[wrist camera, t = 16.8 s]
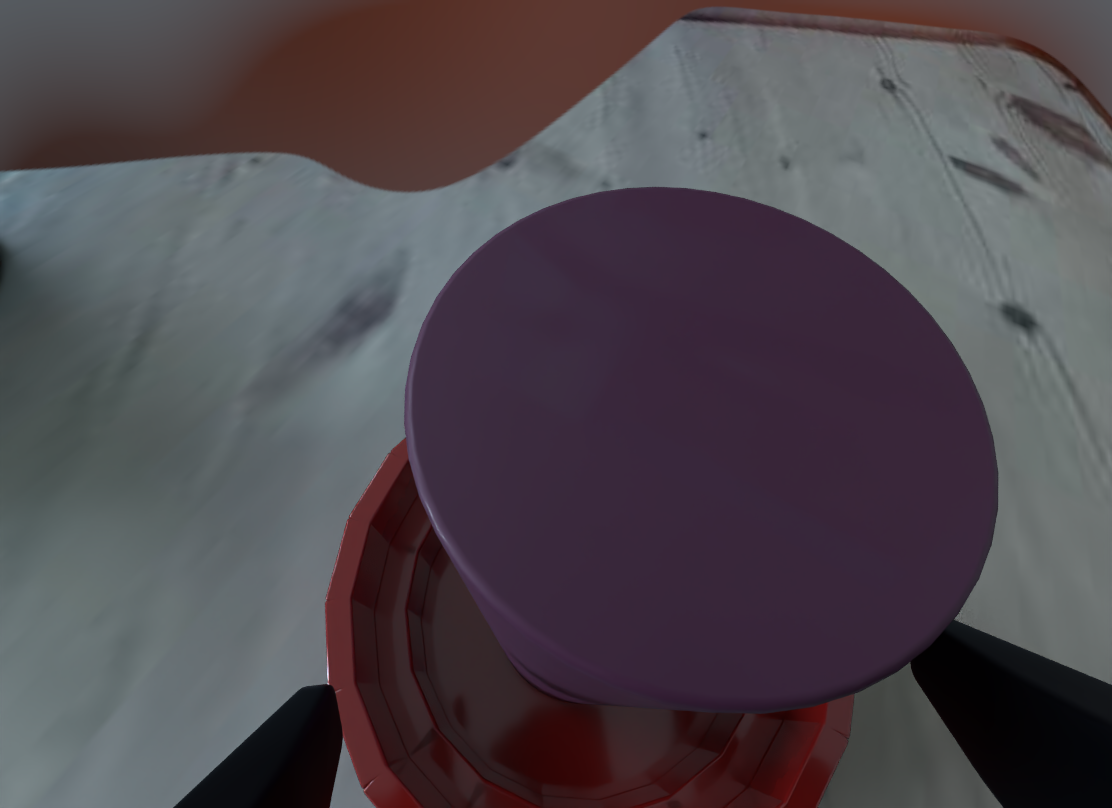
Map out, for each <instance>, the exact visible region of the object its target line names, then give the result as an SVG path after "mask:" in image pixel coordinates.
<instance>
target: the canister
mask: <svg viewBox="0 0 1112 808" xmlns="http://www.w3.org/2000/svg"><path fill="white" fill-rule="evenodd" d="M404 426H405V434H406V442H407V450H408V458H409V462H410V466H411V469H412V473H413V476H414V480H415V483H416V487H417V490H418V494H419V497H420V499H421V502H422V504H423V506H424V508H425V510H426V513H427V515H428V517H429V519H430V522H431V524H432V526H433V528H434V531H435V533H436V535H437V536H438V538H439V540H440V542H441V543H442V545H443V547H444V549H445V550H446V552H447V554H448V555H449V557H450V559H451V561H452V562H453V564H454V566H455V568H456V569H457V571H458V573H459V574H460V576H461V578H462V580H463V581H464V583H465V585H466V587H467V588H468V590H469V592H470V593H471V595H472V597H473V599H474V600H475V602H476V604H477V606H478V607H479V609H480V611H481V612H482V614H483V616H484V618H485V619H486V621H487V623H488V624H489V626H490V628H491V630H492V631H493V633H494V635H495V637H496V638H497V640H498V642H499V643H500V645H501V647H502V649H503V650H504V652H505V654H506V656H507V657H508V659H509V660H510V662H511V664H512V665H513V667H514V668H515V669H516V671H517V672H518V673H519V674H520V675H521V677H522V678H523V679H525V680H526V681H527V682H528V683H529V684H530V685H531V686H533V687H534V688H536V689H537V690H538V691H540V692H542V693H544V694H546V695H548V696H550V697H552V698H555V699H558V700H561V701H565V702H571V703H580V704H595V705H609V706H624V707H638V708H653V709H667V710H681V711H696V712H710V713H755V714H766V713H773V712H780V711H787V710H794V709H801V708H808V707H814V706H817V705H820V704H823V703H827V702H830V701H833V700H836V699H839V698H843V697H846V696H849V695H852V694H855V693H858V692H860V691H862V690H864V689H866V688H868V687H869V686H871V685H873V684H875V683H877V682H879V681H881V680H883V679H885V678H887V677H889V676H891V675H893V674H895V673H896V672H898V671H899V670H900V669H902V668H903V667H904V666H905V665H907V664H908V663H909V662H911V661H912V660H913V659H914V658H916V657H917V656H918V655H920V654H921V653H922V652H923V651H925V650H926V649H927V648H929V647H930V646H931V645H932V643H933V642H934V641H935V640H936V639H937V638H938V637H939V636H940V634H941V633H942V632H943V631H944V630H945V629H946V628H947V626H948V625H949V624H950V623H951V622H952V621H953V620H954V619H955V617H956V616H957V615H958V613H959V612H960V610H961V608H962V607H963V605H964V603H965V602H966V600H967V598H968V597H969V595H970V593H971V591H972V590H973V588H974V586H975V585H976V583H977V581H978V580H979V577H980V575H981V572H982V569H983V566H984V564H985V561H986V558H987V555H988V553H989V550H990V547H991V545H992V539H993V534H994V528H995V522H996V517H997V511H998V467H997V460H996V453H995V447H994V440H993V435H992V432H991V429H990V425H989V422H988V418H987V415H986V411H985V408H984V405H983V402H982V400H981V398H980V395H979V393H978V391H977V389H976V386H975V384H974V382H973V380H972V377H971V375H970V373H969V371H968V369H967V368H966V366H965V364H964V363H963V361H962V359H961V357H960V356H959V354H958V352H957V351H956V349H955V347H954V346H953V344H952V342H951V341H950V340H949V338H948V337H947V336H946V334H945V333H944V332H943V330H942V329H941V328H940V326H939V325H938V324H937V322H936V321H935V320H934V318H933V317H932V316H931V315H930V314H929V312H928V311H927V310H926V309H925V308H924V307H923V306H922V305H921V304H920V303H919V302H918V301H917V299H916V298H915V297H914V296H913V295H912V294H911V293H910V292H909V291H908V290H907V289H906V288H905V287H904V286H902V285H901V284H900V283H899V282H898V281H897V280H896V279H895V278H894V277H892V276H891V275H890V274H889V273H888V272H887V271H886V270H885V269H883V268H882V267H881V266H879V265H878V264H877V263H875V262H874V261H873V260H871V259H870V258H868V257H867V256H866V255H864V254H863V253H862V252H860V251H859V250H858V249H856V248H854V247H853V246H851V245H849V244H848V243H846V242H845V241H843V240H841V239H840V238H838V237H836V236H835V235H833V234H831V233H830V232H828V231H826V230H824V229H822V228H820V227H818V226H816V225H814V224H812V223H810V222H808V221H806V220H804V219H801V218H799V217H796V216H794V215H791V214H789V213H786V212H784V211H781V210H779V209H776V208H774V207H771V206H767V205H764V204H761V203H758V202H754V201H751V200H748V199H745V198H740V197H736V196H731V195H726V194H722V193H717V192H711V191H703V190H696V189H688V188H670V187H643V188H625V189H618V190H611V191H603V192H597V193H593V194H589V195H585V196H581V197H576V198H572V199H569V200H566V201H563V202H560V203H558V204H555V205H552V206H549V207H546V208H544V209H541V210H539V211H537V212H535V213H533V214H531V215H529V216H527V217H525V218H523V219H520V220H519V221H517V222H515V223H514V224H512V225H511V226H509V227H507V228H506V229H504V230H503V231H501V232H499V233H498V234H496V235H495V236H493V237H492V238H491V239H490V240H489V241H487V242H486V243H485V244H484V245H482V246H481V247H480V248H479V249H477V250H476V251H475V252H474V253H473V254H472V255H471V256H470V257H469V258H468V259H467V260H466V261H465V262H464V263H463V264H462V265H461V266H460V267H459V268H458V269H457V270H456V272H455V273H454V274H453V275H452V276H451V278H450V279H449V281H448V282H447V283H446V285H445V286H444V288H443V289H442V290H441V292H440V293H439V294H438V296H437V297H436V299H435V301H434V303H433V305H432V307H431V309H430V311H429V313H428V315H427V316H426V318H425V320H424V322H423V324H422V327H421V329H420V332H419V335H418V338H417V341H416V344H415V347H414V350H413V353H412V356H411V360H410V365H409V371H408V376H407V382H406V387H405V412H404Z"/></svg>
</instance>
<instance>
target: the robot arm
mask: <svg viewBox="0 0 1112 808" xmlns="http://www.w3.org/2000/svg"><path fill="white" fill-rule="evenodd" d="M911 669H912V673H913V675H914V677H915V679H916V681H917V683H918V684H919V686H920V687H921V689H922V690H923V692H924V693H925V695H926V696H927V698H928V699H929V701H930V702H931V704H932V705H933V707H934V708H935V710H936V711H937V713H938V714H939V716H940V717H941V719H942V720H943V722H944V723H945V725H946V726H947V728H948V729H949V731H950V732H951V734H952V735H953V737H954V738H955V740H956V741H957V743H958V744H959V746H960V748H961V749H962V751H963V752H964V754H965V755H966V757H967V758H968V760H969V761H970V763H971V764H972V766H973V767H974V768H975V770H976V771H977V773H978V774H979V776H980V777H981V779H982V780H983V781H984V783H985V784H986V785H987V787H988V788H989V789H990V791H991V792H992V793H993V795H994V796H995V797H996V799H997V800H998V801H999V803H1000V804H1001V805H1002V807H1003V808H1112V685H1110V684H1108V683H1106V682H1103V681H1101V680H1098V679H1096V678H1094V677H1091V676H1089V675H1086V674H1084V673H1081V672H1079V671H1077V670H1074V669H1072V668H1069V667H1067V666H1064V665H1062V664H1060V663H1057V662H1055V661H1052V660H1050V659H1048V658H1045V657H1043V656H1040V655H1038V654H1035V653H1033V652H1031V651H1028V650H1026V649H1023V648H1021V647H1018V646H1016V645H1014V644H1011V643H1009V642H1006V641H1004V640H1002V639H999V638H997V637H994V636H992V635H989V634H987V633H985V632H982V631H980V630H977V629H975V628H972V627H970V626H968V625H965V624H963V623H960V622H958V621H956V620H953V621H952V622H951V623H950V624H949V625H948V626H947V628H946V629H945V630H944V631H943V632H942V633H941V634H940V636H939V637H938V638H937V639H936V640H935V641H934V642H933V643H932V645H931V646H930V647H929V648H927V649H926V650H925V651H923V652H922V653H921V654H920V655H918V656H917V657H916V658H914V659H913V660H912V661H911ZM342 739H343V731H342V724H341V719H340V714H339V708H338V703H337V698H336V693H335V690H334V688H333V686H331V685H329V684H323V685H314V686H306V687H303V688H301V689H300V690H299V691H297V692H296V693H295V694H294V695H293V696H292V697H291V698H290V699H289V700H288V701H287V702H286V703H284V704H283V705H282V706H281V707H280V708H279V709H278V710H277V711H276V712H275V713H274V714H273V715H272V716H271V717H269V718H268V719H267V720H266V721H265V722H264V723H263V724H262V725H261V726H260V727H259V728H258V729H257V730H256V731H255V732H253V733H252V734H251V735H250V736H249V737H248V738H247V739H246V740H245V741H244V742H243V743H242V744H241V745H240V746H239V747H237V748H236V749H235V750H234V751H233V752H232V753H231V754H230V755H229V756H228V757H227V758H226V759H225V760H224V761H222V762H221V763H220V764H219V765H218V766H217V767H216V768H215V769H214V770H213V771H212V772H211V773H210V774H209V775H208V776H206V777H205V778H204V779H203V780H202V781H201V782H200V783H199V784H198V785H197V786H196V787H195V788H194V789H193V790H192V791H190V792H189V793H188V794H187V795H186V796H185V797H184V798H183V799H182V800H181V801H180V802H179V803H178V804H177V805H175V806H174V807H173V808H329V807H330V802H331V797H332V792H333V787H334V782H335V777H336V773H337V768H338V763H339V758H340V753H341V748H342Z"/></svg>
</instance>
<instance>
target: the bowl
mask: <svg viewBox="0 0 1112 808" xmlns="http://www.w3.org/2000/svg"><path fill="white" fill-rule="evenodd" d="M349 518H350V519H348V520H347V523H346V527H345V530H344V534H343V537H342V541H341V545H340V548H339V552H338V555H337V559H336V563H335V566H334V570H333V573H332V577H331V581H330V584H329V588H328V592H327V595H326V600H327V601H326V602H325V618H326V652H327V684H329V685H331V686H333V688H334V690H335V693H336V698H337V703H338V708H339V714H340V719H341V724H342V731H343V738H344V741H345V744H346V746H347V749H348V752H349V755H350V757H351V760H352V763H353V766H354V768H355V771H356V774H357V777H358V780H359V782H360V785H361V787H362V788H363V789H364V794H365V795H366V796H367V797H368V799H369V800H370V801H371V802H372V803H373V805H374V806H375V807H376V808H818V806H819V804H820V801H821V799H822V797H823V795H824V793H825V791H826V789H827V787H828V784H829V782H830V780H831V778H832V776H833V774H834V772H835V770H836V767H837V765H838V763H839V761H840V759H841V757H842V755H843V753H844V750H845V748H846V746H847V744H848V740H847V739H849V737H850V730H851V721H852V712H853V703H854V694H852V695H849V696H846V697H843V698H839V699H836V700H833V701H830V702H827V703H823V704H820V705H817V706H814V707H808V708H801V709H794V710H787V711H780V712H773V713H766V714H755V713H710V712H696V711H681V710H667V709H653V708H638V707H624V706H609V705H595V704H580V703H571V702H565V701H561V700H558V699H555V698H552V697H550V696H548V695H546V694H544V693H542V692H540V691H538V690H537V689H536V688H534V687H533V686H531V685H530V684H529V683H528V682H527V681H526V680H525V679H523V678H522V677H521V675H520V674H519V673H518V672H517V671H516V669H515V668H514V667H513V665H512V664H511V662H510V660H509V659H508V657H507V656H506V654H505V652H504V650H503V649H502V647H501V645H500V643H499V642H498V640H497V638H496V637H495V635H494V633H493V631H492V630H491V628H490V626H489V624H488V623H487V621H486V619H485V618H484V616H483V614H482V612H481V611H480V609H479V607H478V606H477V604H476V602H475V600H474V599H473V597H472V595H471V593H470V592H469V590H468V588H467V587H466V585H465V583H464V581H463V580H462V578H461V576H460V574H459V573H458V571H457V569H456V568H455V566H454V564H453V562H452V561H451V559H450V557H449V555H448V554H447V552H446V550H445V549H444V547H443V545H442V543H441V542H440V540H439V538H438V536H437V535H436V533H435V531H434V528H433V526H432V524H431V522H430V519H429V517H428V515H427V513H426V510H425V508H424V506H423V504H422V502H421V499H420V497H419V494H418V490H417V487H416V483H415V480H414V476H413V473H412V469H411V466H410V462H409V458H408V450H407V442H406V438H405V439H403V440H402V441H401V442H400V443H399V444H398V445H397V446H396V447H394V448H393V449H392V450H391V453H389V454H388V455H387V457H386V458H385V460H384V461H383V463H382V465H381V466H380V468H379V469H378V471H377V472H376V474H375V476H374V477H373V479H372V480H371V482H370V484H369V485H368V487H367V488H366V490H365V492H364V493H363V495H362V496H361V498H360V500H359V501H358V503H357V504H356V506H355V508H354V509H353V511H352V512H351V514H350V516H349Z"/></svg>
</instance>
